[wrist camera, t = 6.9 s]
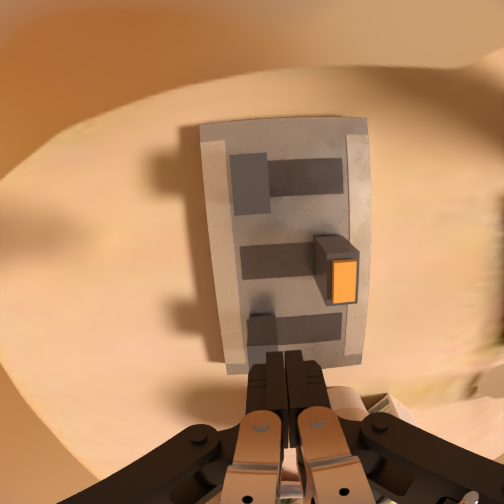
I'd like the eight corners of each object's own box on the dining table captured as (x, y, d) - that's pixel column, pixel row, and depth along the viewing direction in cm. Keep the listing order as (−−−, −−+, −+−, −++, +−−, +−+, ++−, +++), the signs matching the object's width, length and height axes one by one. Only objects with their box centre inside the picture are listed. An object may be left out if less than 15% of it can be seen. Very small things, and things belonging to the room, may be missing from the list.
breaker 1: (265, 154, 24) (266, 152, 19) (268, 203, 25) (271, 213, 20) (235, 156, 24) (229, 155, 19) (239, 205, 25) (234, 215, 20)
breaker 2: (275, 314, 28) (277, 344, 23) (277, 350, 29) (279, 383, 24) (248, 316, 28) (246, 346, 23) (252, 352, 29) (250, 384, 24)
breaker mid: (342, 235, 26) (362, 254, 20) (341, 279, 27) (359, 307, 21) (314, 236, 26) (328, 256, 20) (315, 281, 27) (327, 310, 21)
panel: (359, 120, 25) (367, 117, 23) (356, 353, 31) (361, 364, 29) (203, 127, 25) (198, 124, 23) (229, 363, 32) (227, 375, 30)
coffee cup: (299, 382, 33) (314, 492, 18) (374, 375, 32) (417, 472, 18) (295, 431, 35) (304, 528, 21) (361, 424, 35) (388, 513, 20)
